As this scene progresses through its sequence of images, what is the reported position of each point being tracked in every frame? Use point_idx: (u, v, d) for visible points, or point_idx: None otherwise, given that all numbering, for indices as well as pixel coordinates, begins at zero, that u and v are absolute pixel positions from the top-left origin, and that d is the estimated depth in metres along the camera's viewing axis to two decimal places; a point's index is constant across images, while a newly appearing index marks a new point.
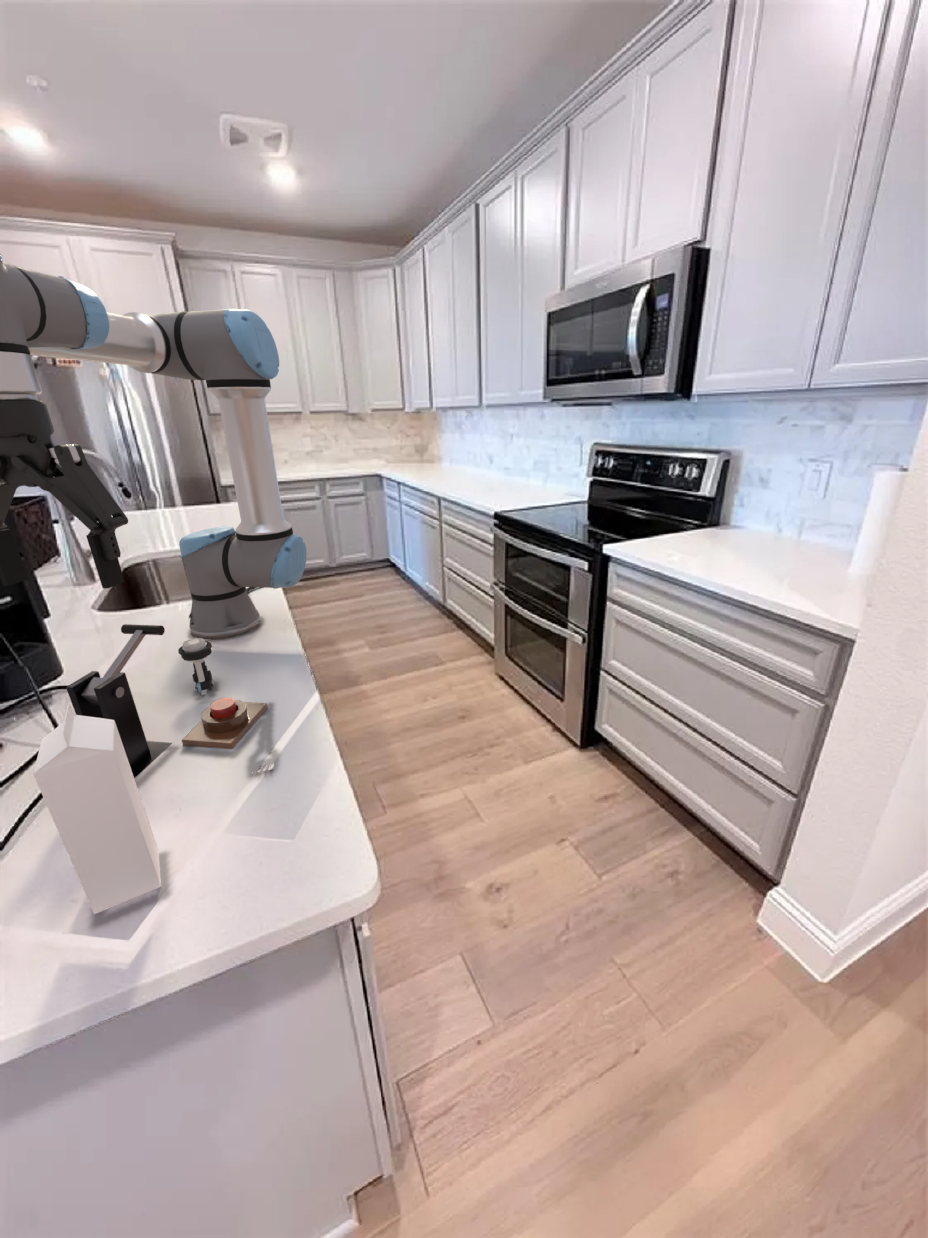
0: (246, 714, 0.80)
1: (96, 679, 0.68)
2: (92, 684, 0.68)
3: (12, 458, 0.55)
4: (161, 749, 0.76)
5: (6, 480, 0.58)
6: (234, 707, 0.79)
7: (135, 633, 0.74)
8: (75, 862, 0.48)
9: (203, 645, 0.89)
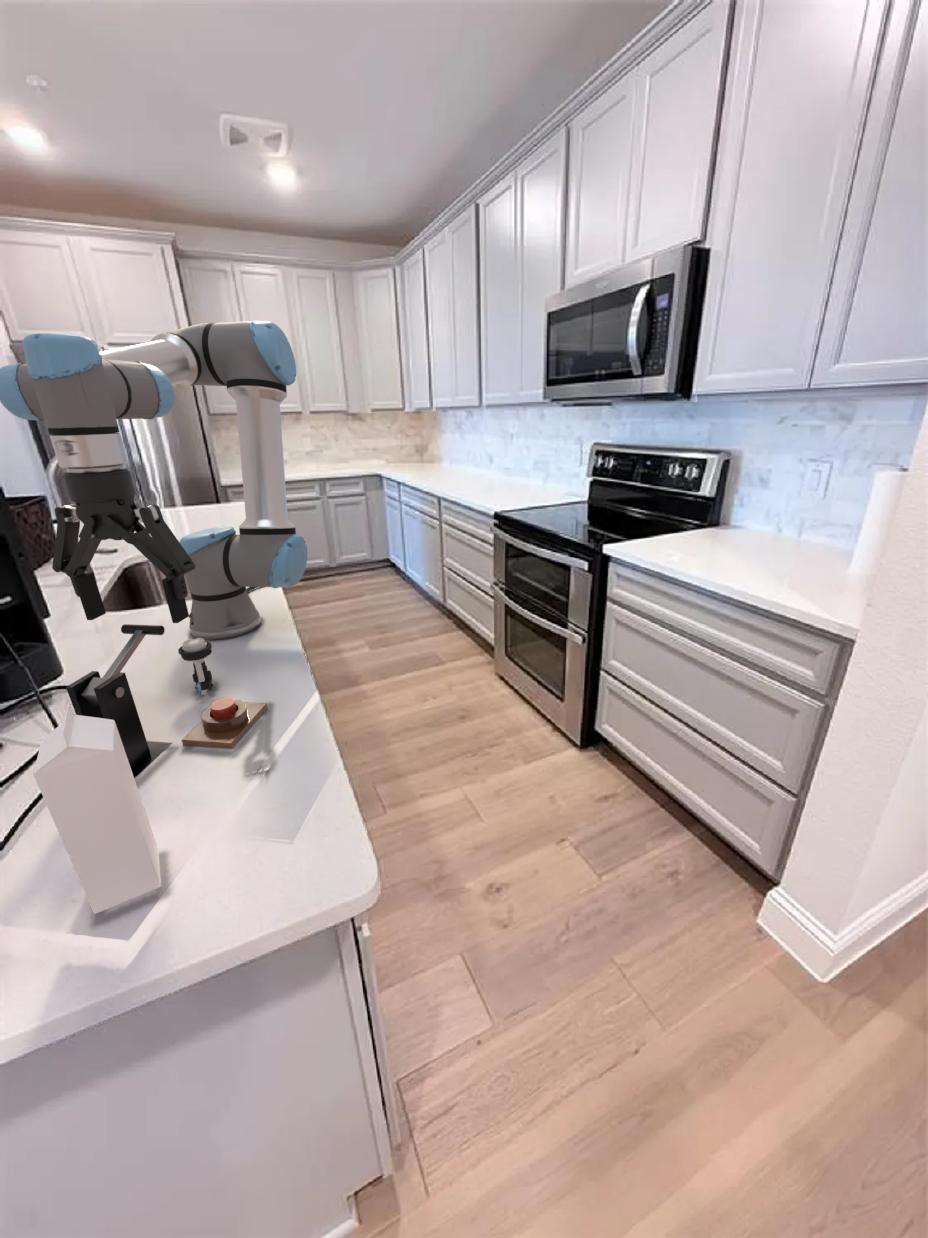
0: (246, 714, 0.80)
1: (96, 679, 0.68)
2: (92, 684, 0.68)
3: (104, 518, 0.67)
4: (161, 749, 0.76)
5: (96, 534, 0.69)
6: (234, 707, 0.79)
7: (135, 633, 0.74)
8: (75, 862, 0.48)
9: (203, 645, 0.89)
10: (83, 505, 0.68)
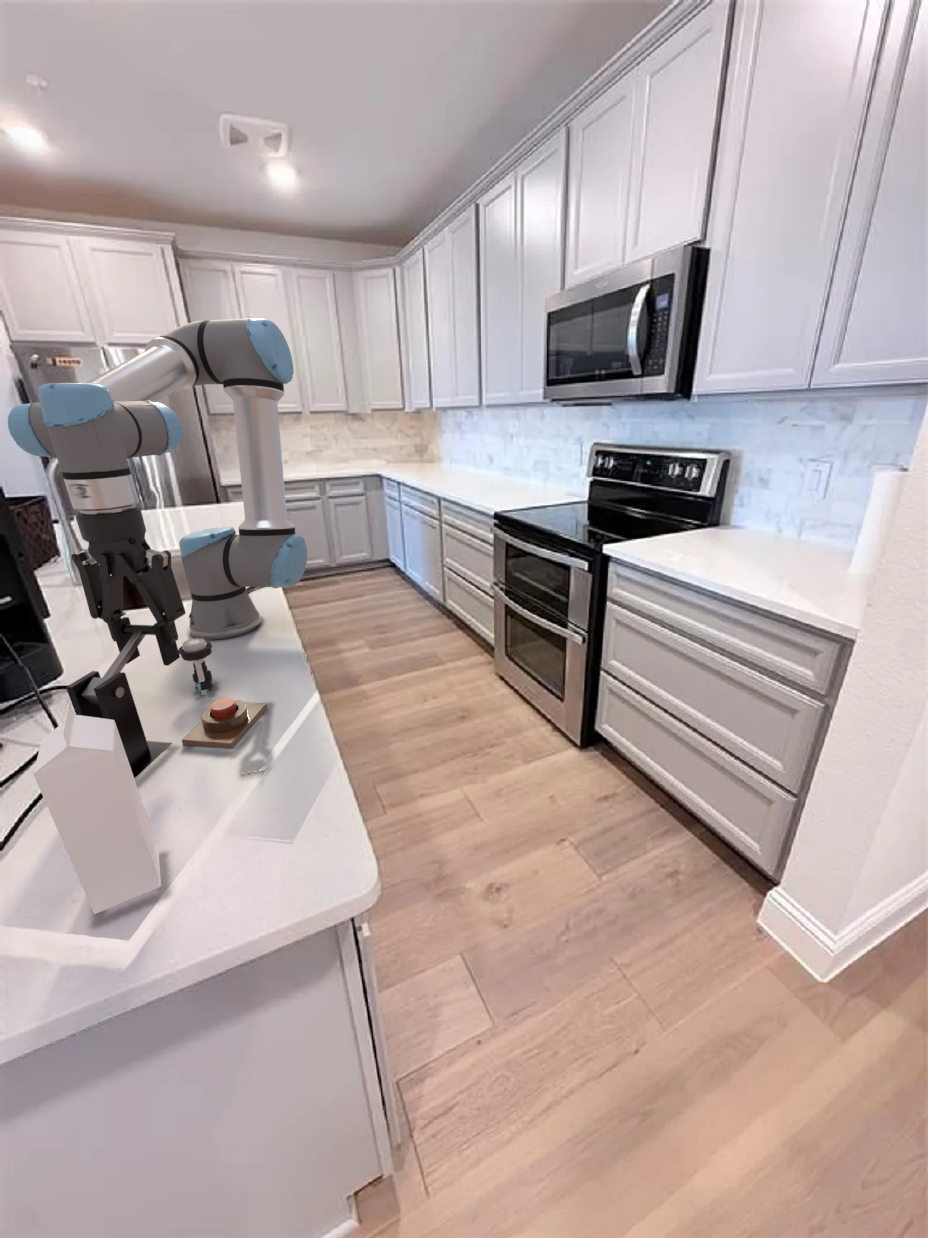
0: (246, 714, 0.80)
1: (96, 679, 0.68)
2: (92, 684, 0.68)
3: (117, 555, 0.69)
4: (161, 749, 0.76)
5: None
6: (234, 707, 0.79)
7: (135, 633, 0.74)
8: (75, 862, 0.48)
9: (203, 645, 0.89)
10: (95, 543, 0.70)
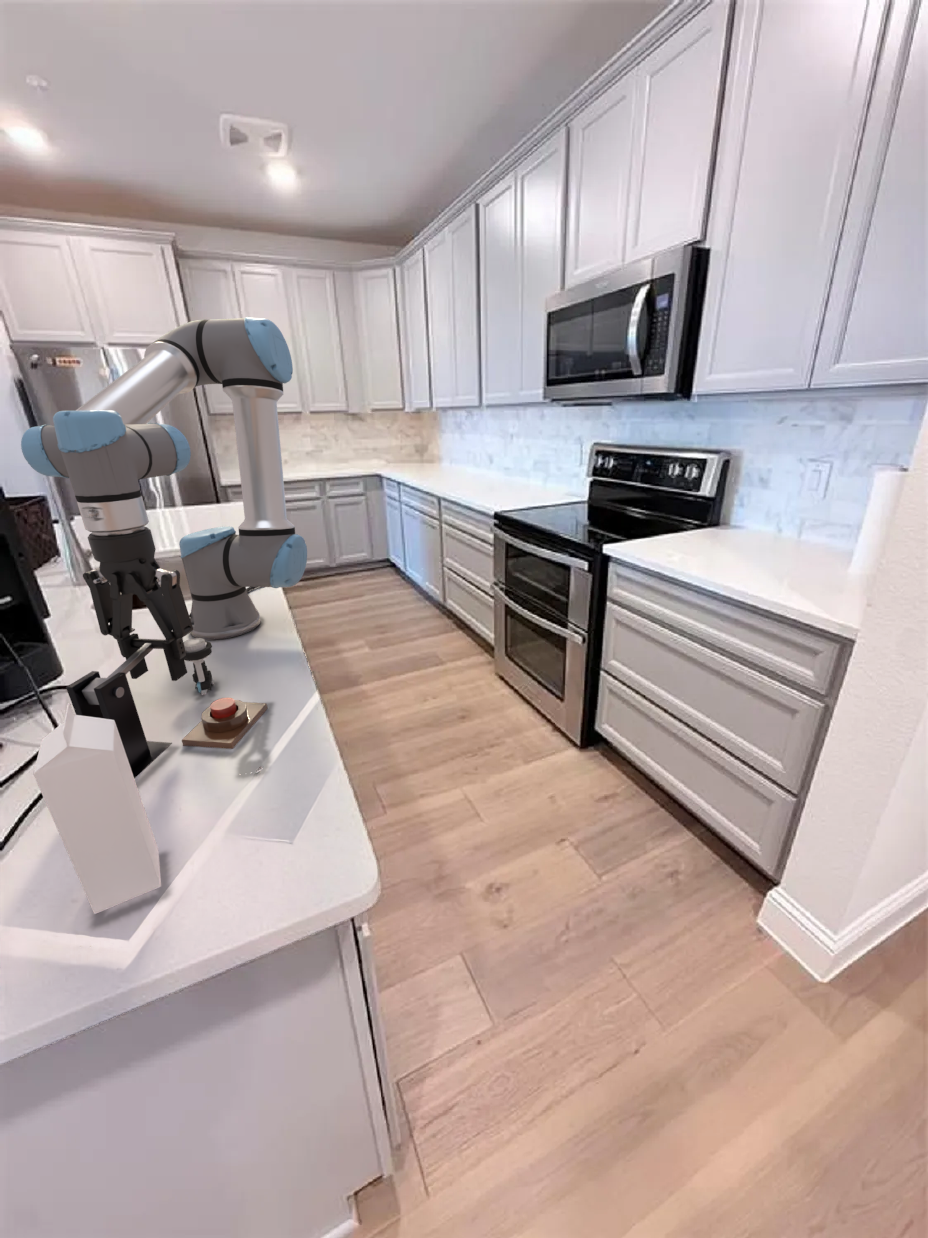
0: (246, 714, 0.80)
1: (99, 679, 0.69)
2: (94, 683, 0.68)
3: (127, 575, 0.71)
4: (161, 749, 0.76)
5: None
6: (234, 707, 0.79)
7: (144, 645, 0.76)
8: (75, 862, 0.48)
9: (203, 645, 0.89)
10: (106, 563, 0.72)
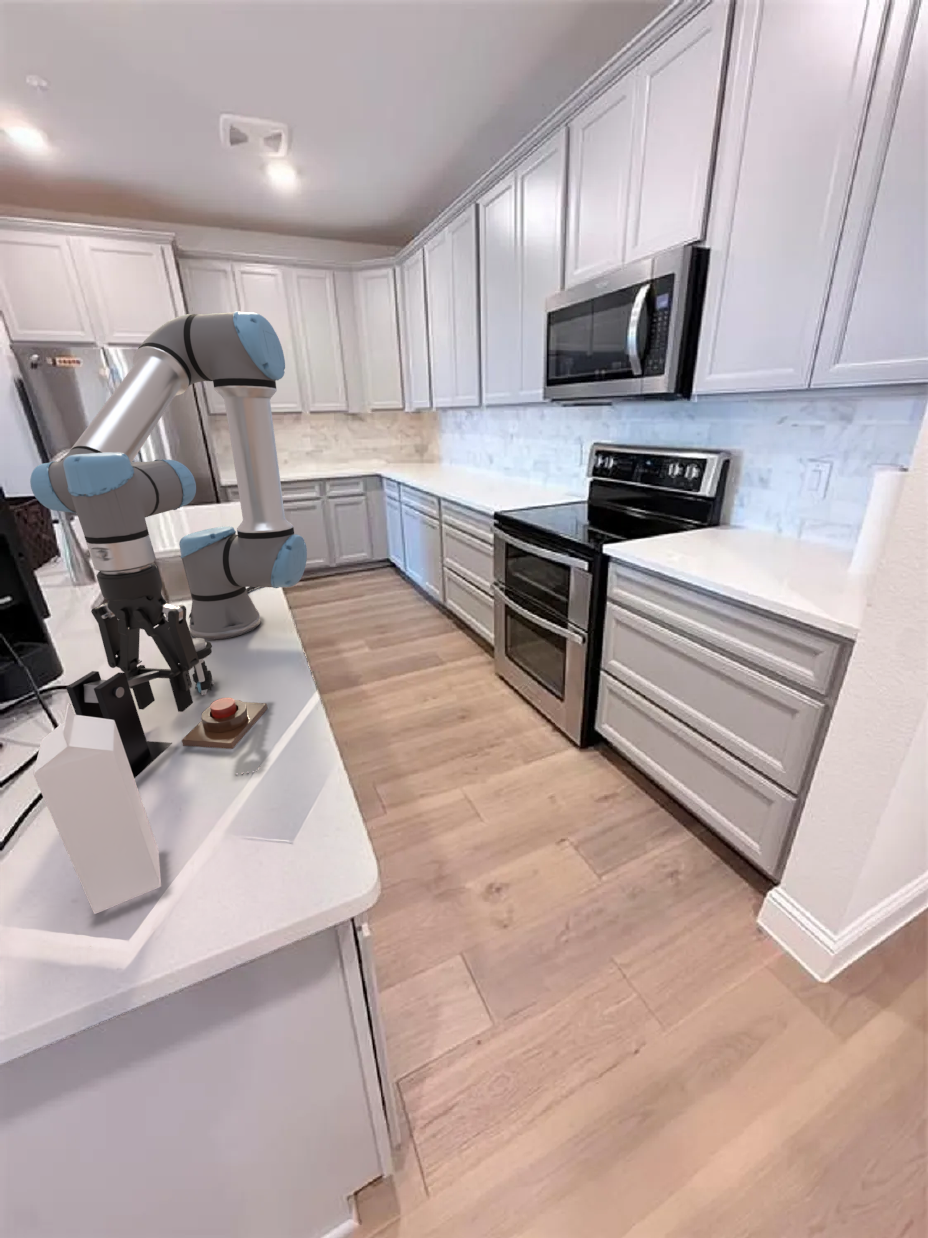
0: (246, 714, 0.80)
1: (103, 680, 0.69)
2: (98, 682, 0.68)
3: (135, 611, 0.73)
4: (161, 749, 0.76)
5: None
6: (234, 707, 0.79)
7: (151, 671, 0.78)
8: (75, 862, 0.48)
9: (203, 645, 0.89)
10: None
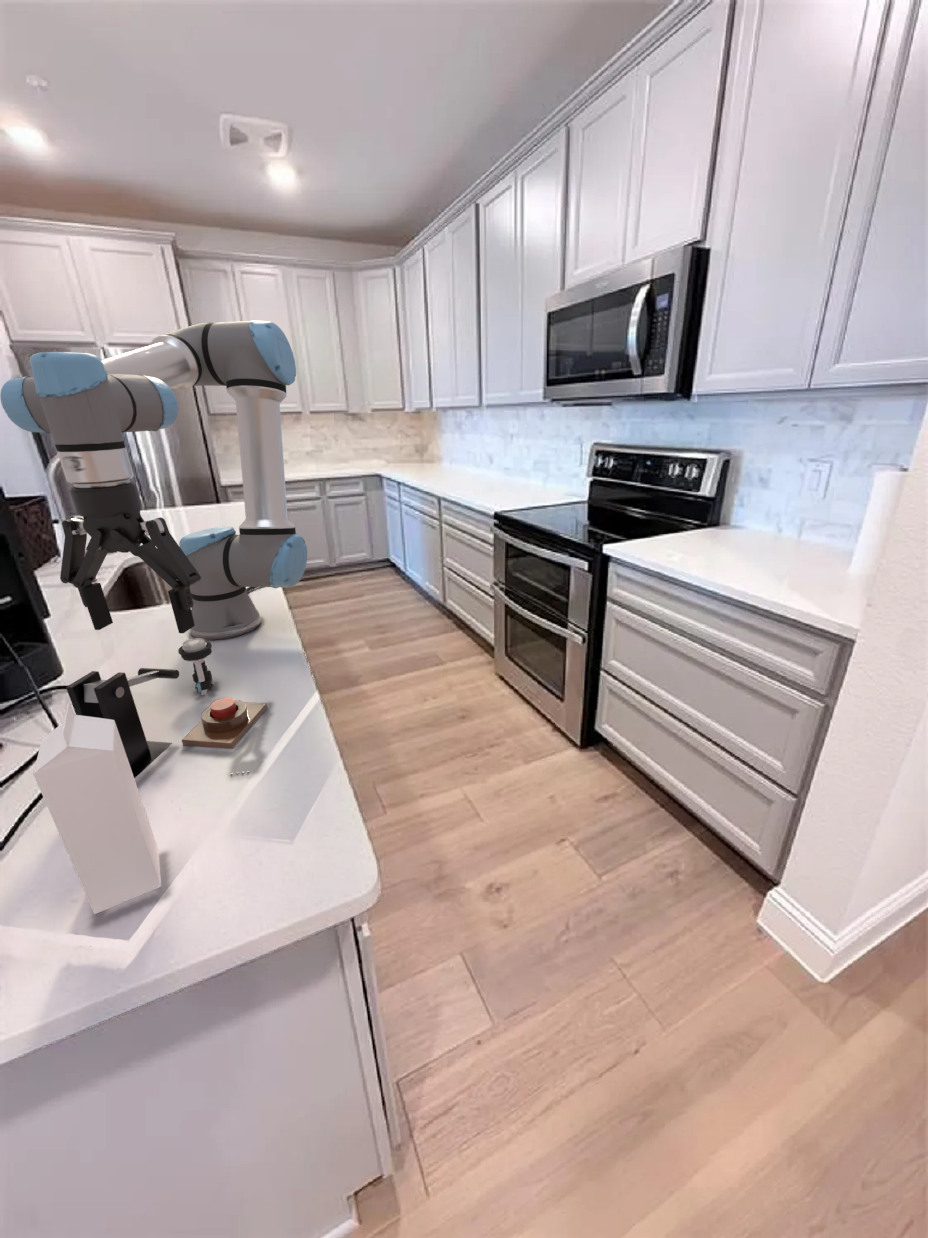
0: (246, 714, 0.80)
1: (103, 680, 0.69)
2: (98, 682, 0.68)
3: (111, 531, 0.68)
4: (161, 749, 0.76)
5: (103, 547, 0.70)
6: (234, 707, 0.79)
7: (151, 671, 0.78)
8: (75, 862, 0.48)
9: (203, 645, 0.89)
10: (90, 518, 0.69)
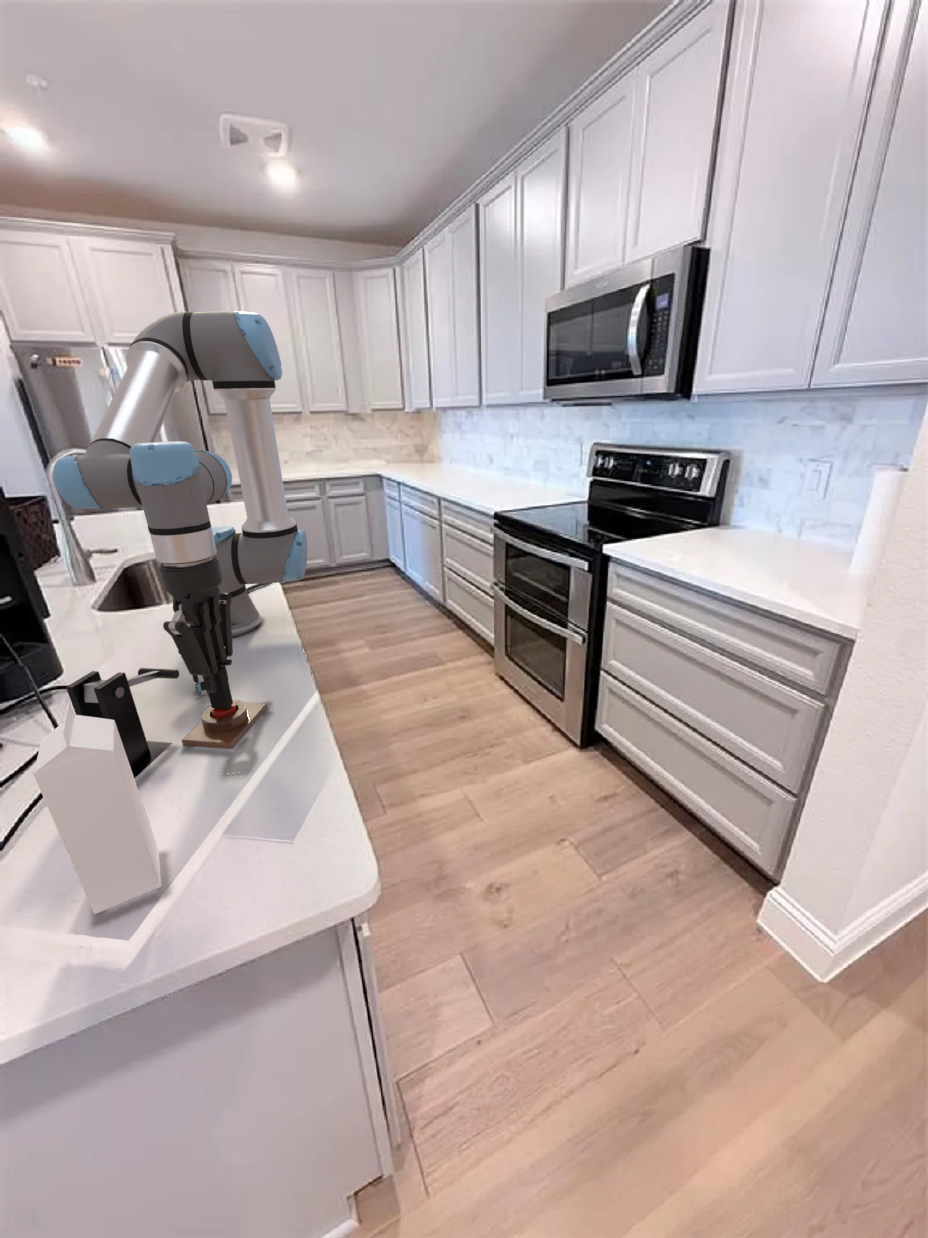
0: (246, 714, 0.80)
1: (103, 680, 0.69)
2: (98, 682, 0.68)
3: None
4: (161, 749, 0.76)
5: None
6: (235, 710, 0.80)
7: (151, 671, 0.78)
8: (75, 862, 0.48)
9: None
10: None
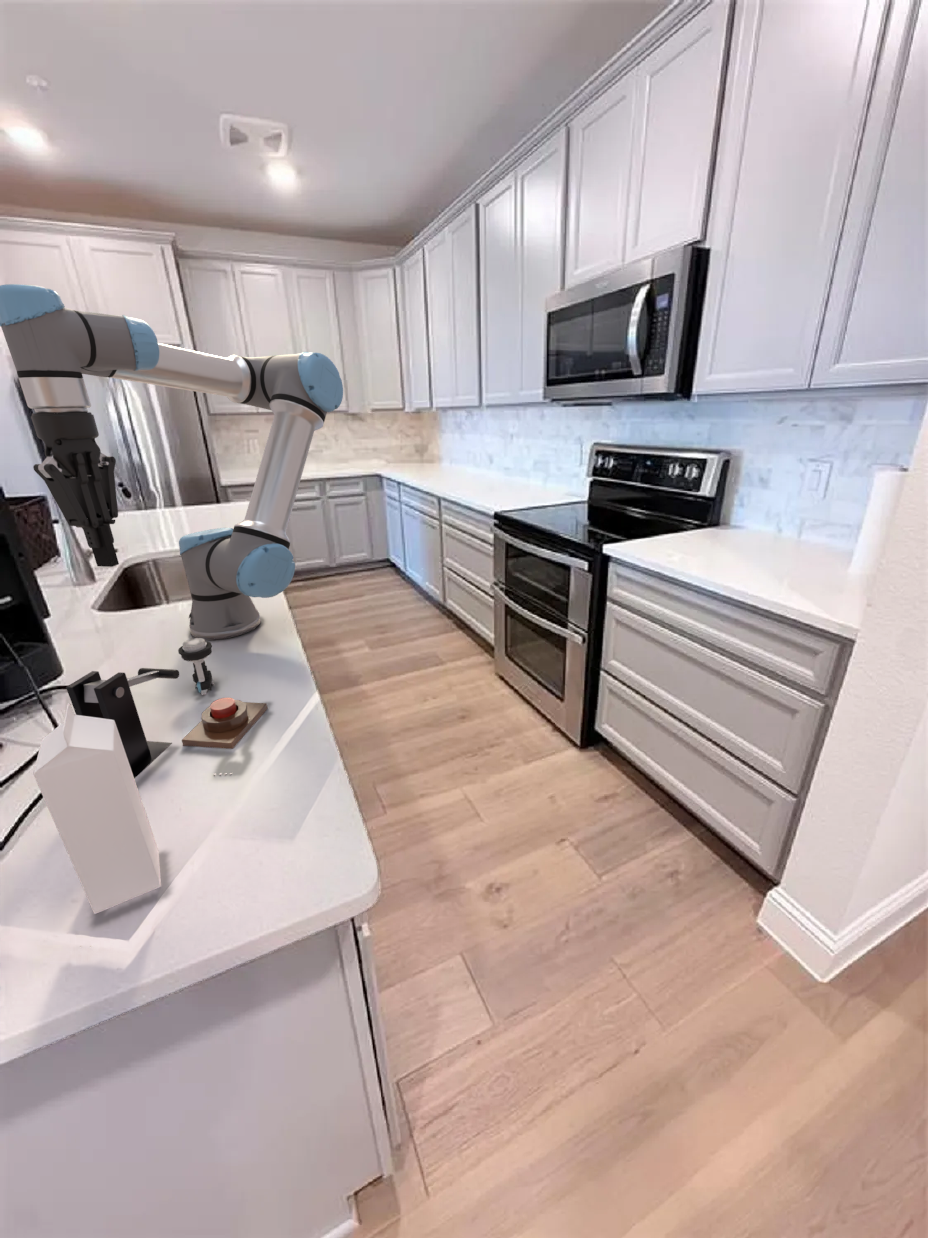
0: (246, 714, 0.80)
1: (103, 680, 0.69)
2: (98, 682, 0.68)
3: None
4: (161, 749, 0.76)
5: None
6: (234, 707, 0.79)
7: (151, 671, 0.78)
8: (75, 862, 0.48)
9: (203, 645, 0.89)
10: None
